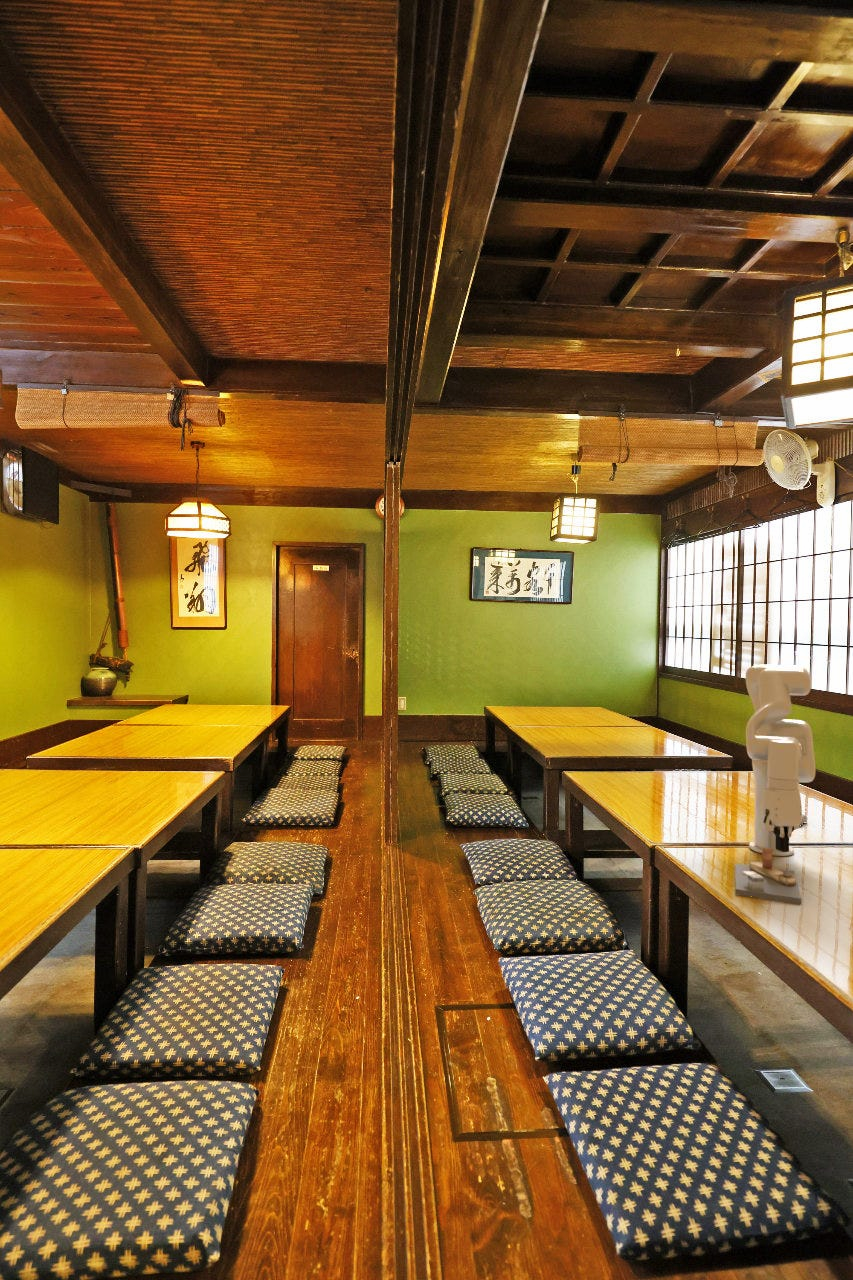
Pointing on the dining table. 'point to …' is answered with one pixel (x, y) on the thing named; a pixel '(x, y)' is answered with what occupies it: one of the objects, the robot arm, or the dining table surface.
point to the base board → (767, 887)
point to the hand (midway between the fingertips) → (782, 850)
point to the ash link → (771, 869)
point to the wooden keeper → (754, 880)
